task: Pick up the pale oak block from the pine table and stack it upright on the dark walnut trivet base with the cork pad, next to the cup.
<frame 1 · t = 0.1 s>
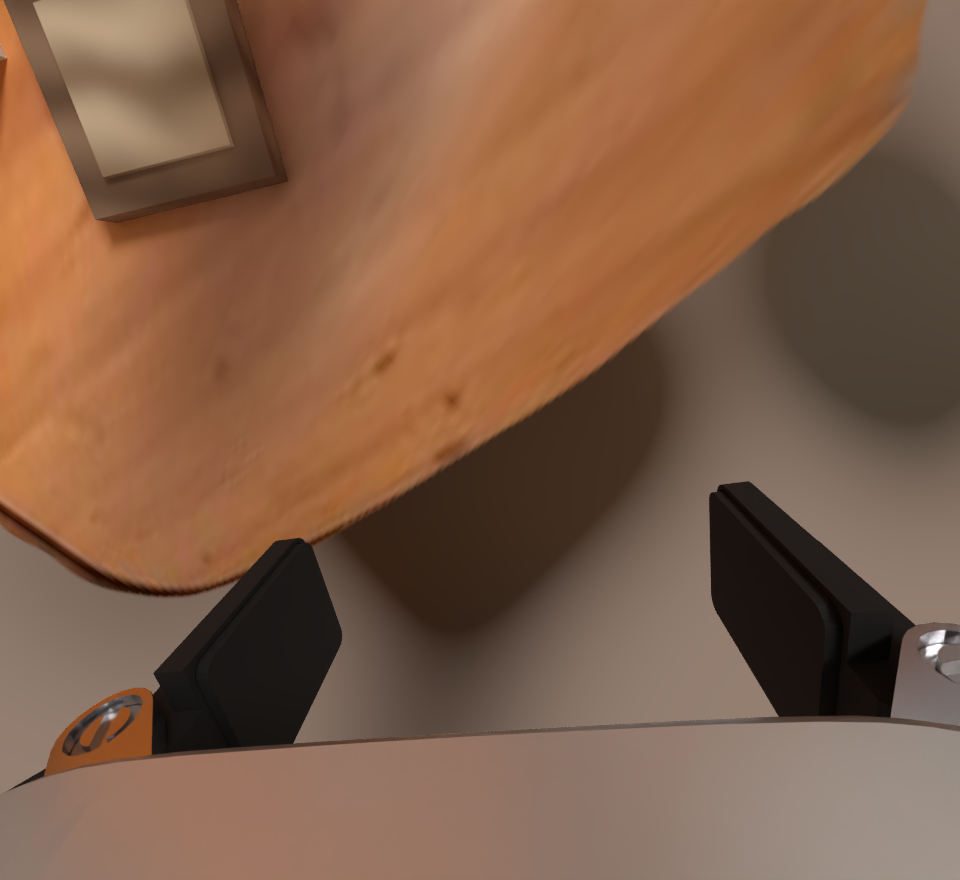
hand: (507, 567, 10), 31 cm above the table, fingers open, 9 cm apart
base: (160, 89, 35), on the table
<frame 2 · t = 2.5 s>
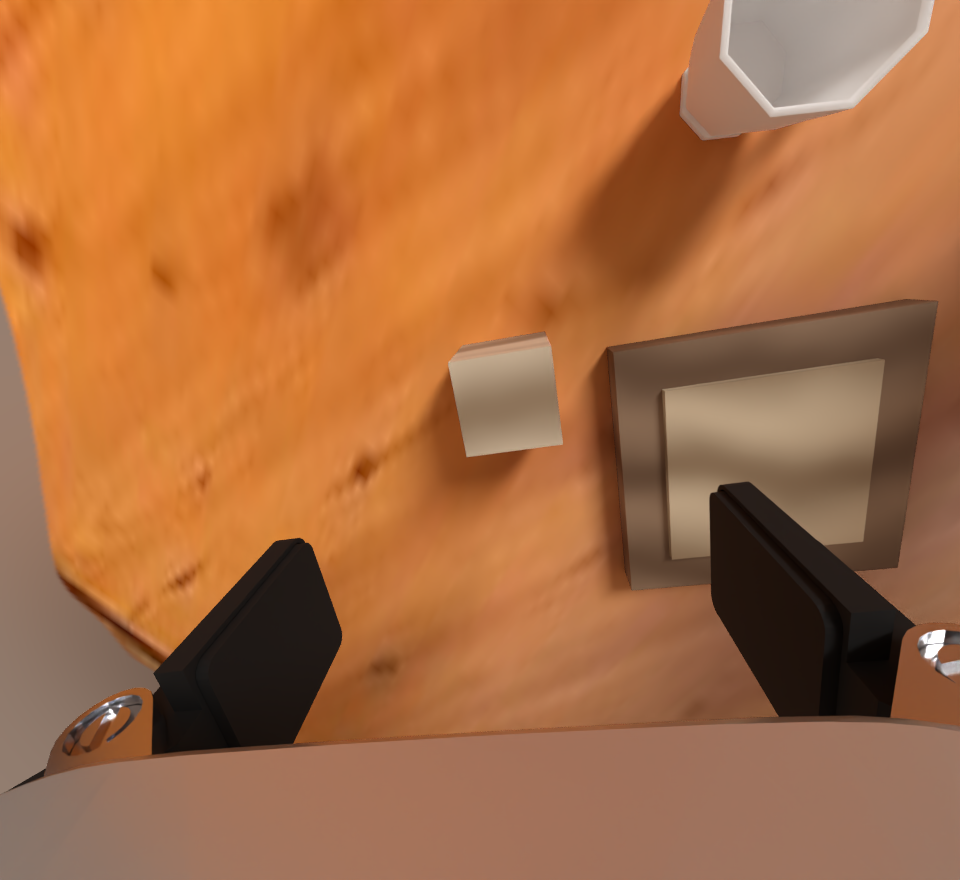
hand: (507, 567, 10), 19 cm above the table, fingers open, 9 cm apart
base: (747, 453, 28), on the table
oak block: (509, 378, 28), on the table
cup: (752, 74, 22), on the table
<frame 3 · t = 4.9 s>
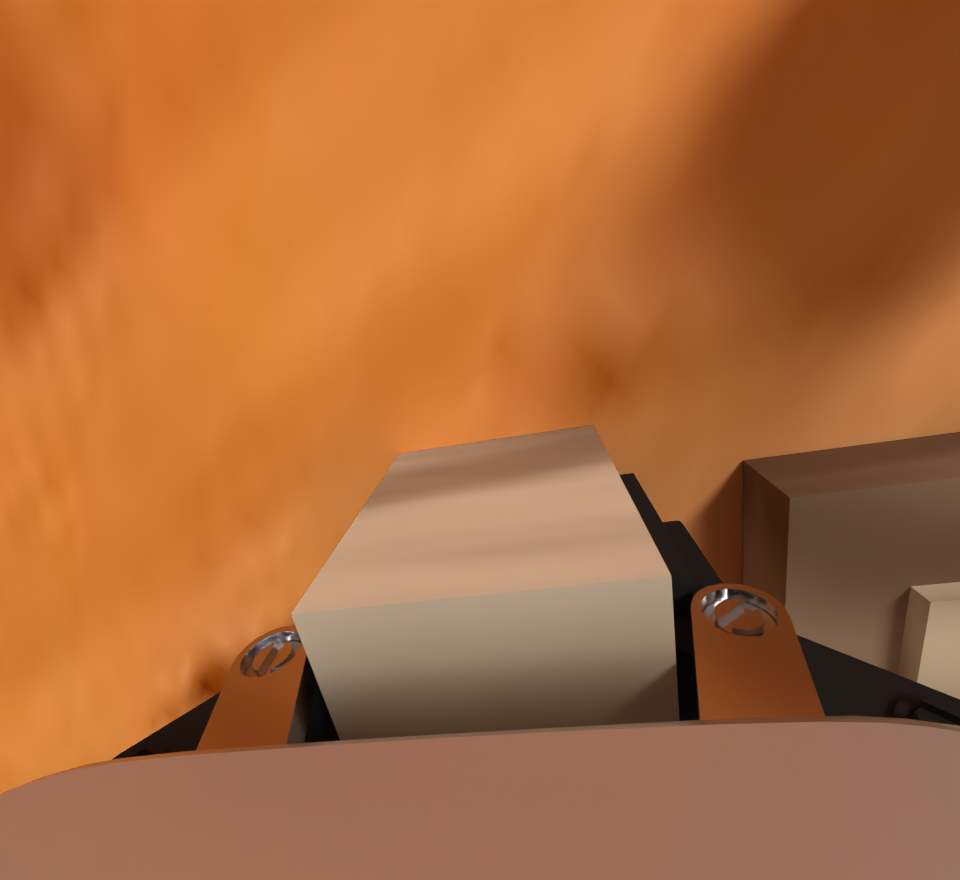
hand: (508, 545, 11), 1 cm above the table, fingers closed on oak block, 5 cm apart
oak block: (509, 525, 12), on the table, touching gripper
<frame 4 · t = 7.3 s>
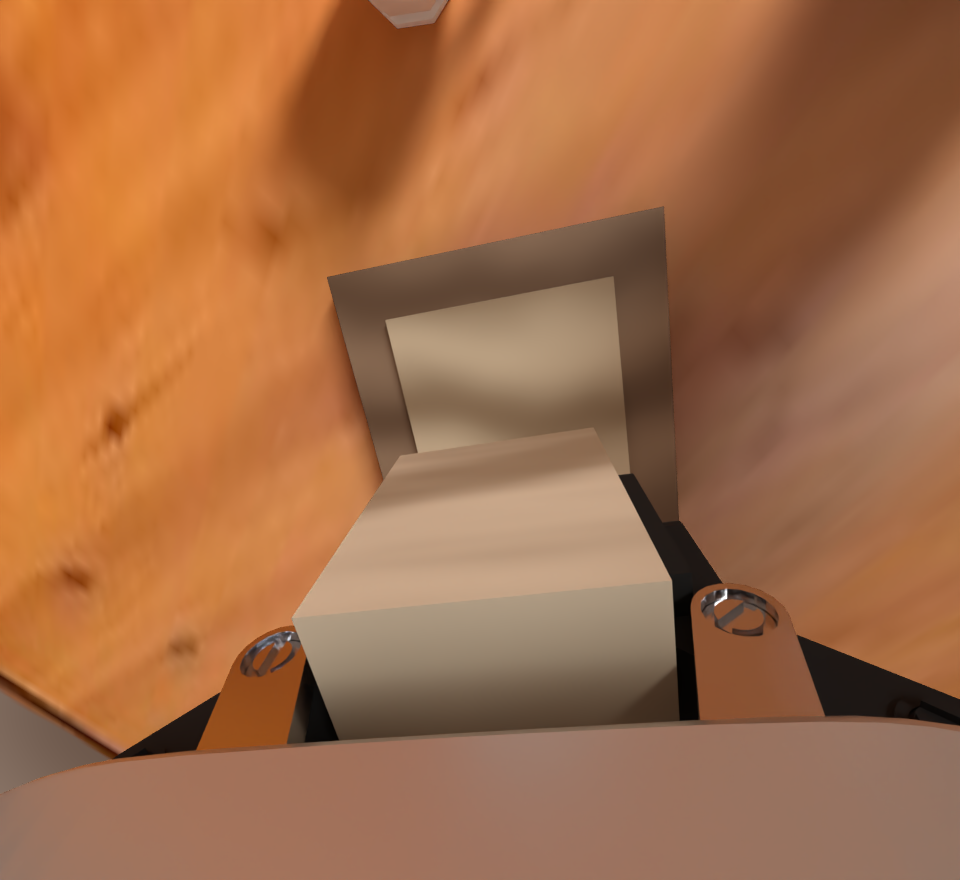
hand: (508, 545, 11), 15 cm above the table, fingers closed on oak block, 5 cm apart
base: (514, 397, 25), on the table
oak block: (509, 527, 12), point 14 cm above the table, touching gripper
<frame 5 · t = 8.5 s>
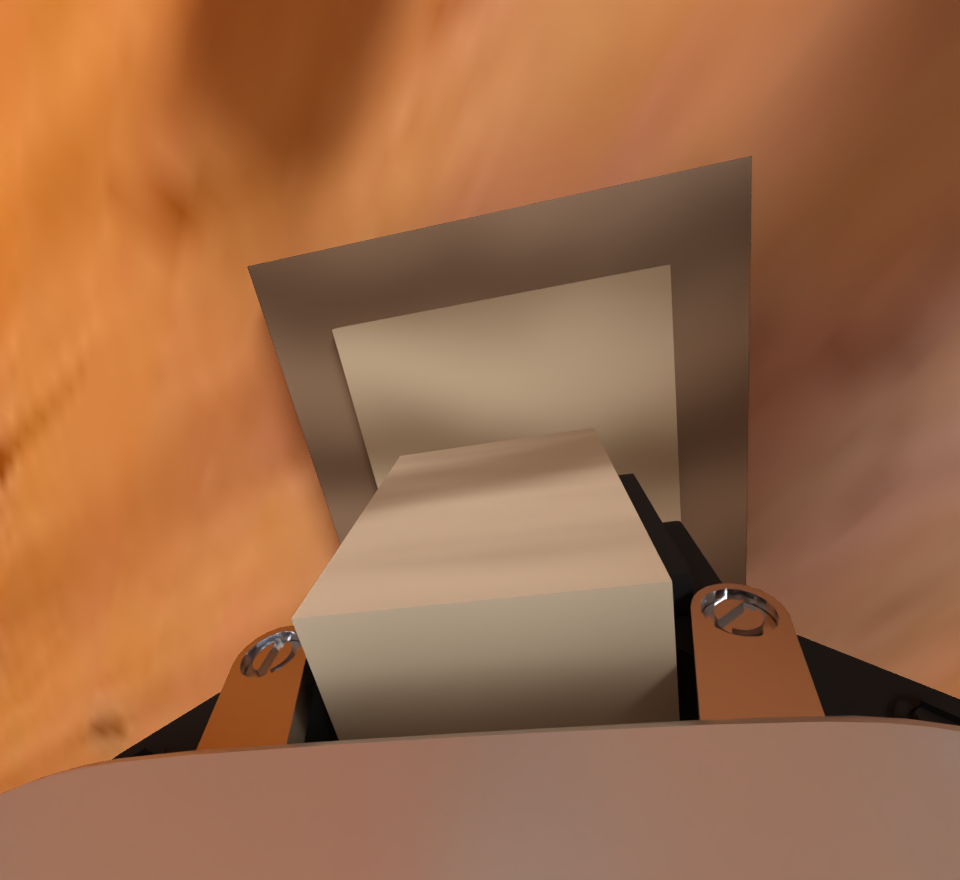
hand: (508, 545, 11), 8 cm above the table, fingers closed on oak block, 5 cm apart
base: (518, 433, 18), on the table
oak block: (509, 527, 12), point 7 cm above the table, touching gripper
when the fingers open (4 cm above the table, at t = 9.6 s): oak block stays where it is, resting on base.
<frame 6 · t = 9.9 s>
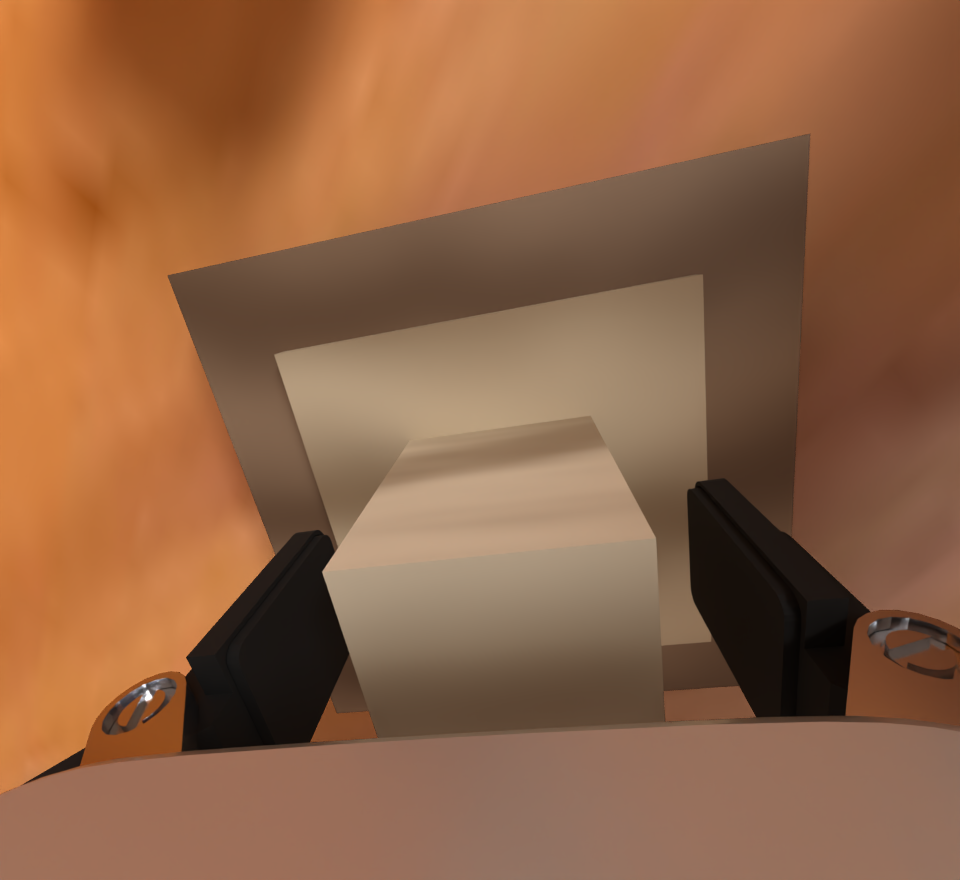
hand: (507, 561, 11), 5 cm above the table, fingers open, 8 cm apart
base: (510, 474, 15), on the table
oak block: (511, 509, 13), point 2 cm above the table, touching base
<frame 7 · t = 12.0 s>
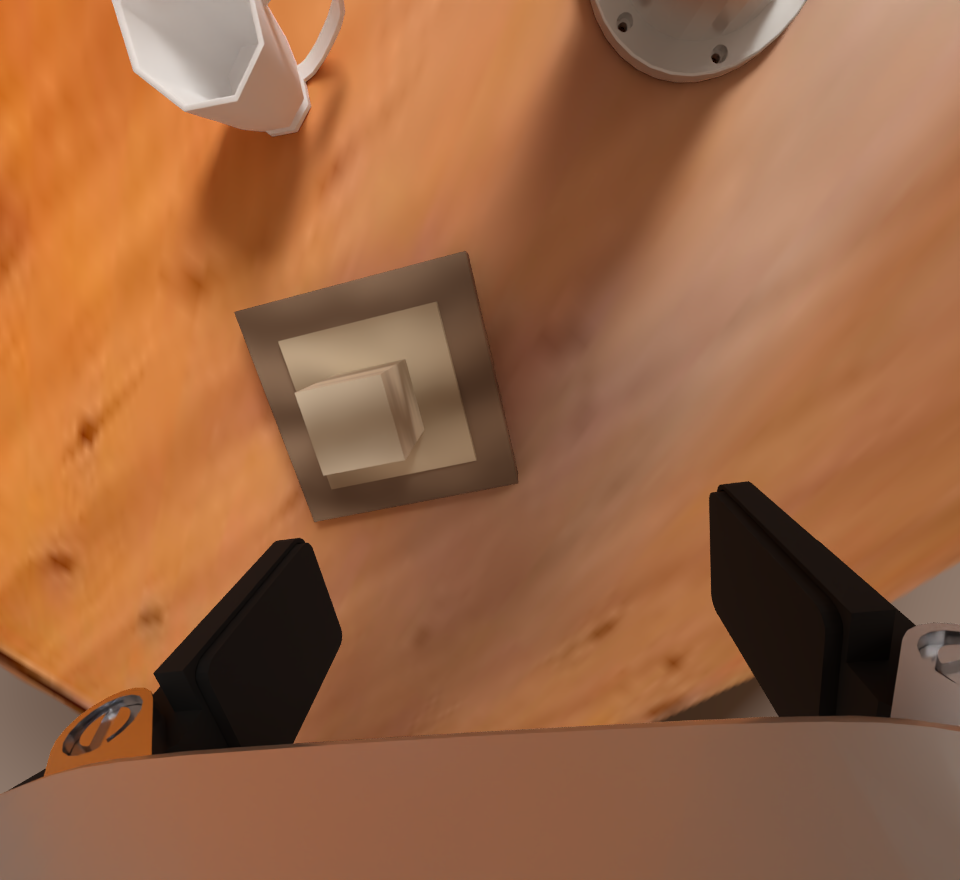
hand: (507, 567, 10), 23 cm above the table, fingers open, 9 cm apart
base: (389, 394, 33), on the table
oak block: (380, 402, 31), point 2 cm above the table, touching base
cup: (296, 82, 28), on the table
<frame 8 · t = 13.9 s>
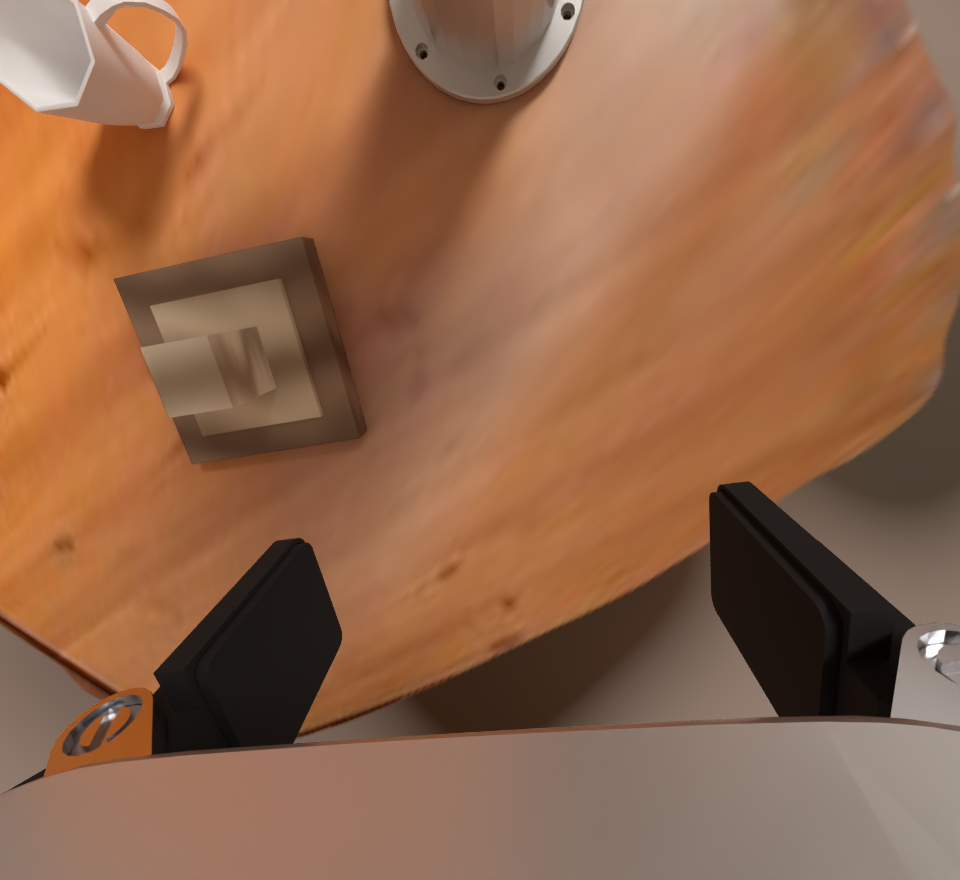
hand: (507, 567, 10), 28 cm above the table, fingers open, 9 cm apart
base: (254, 357, 39), on the table
oak block: (238, 362, 36), point 2 cm above the table, touching base
cup: (162, 84, 32), on the table
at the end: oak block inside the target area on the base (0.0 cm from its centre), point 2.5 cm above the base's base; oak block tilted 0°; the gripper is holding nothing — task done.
